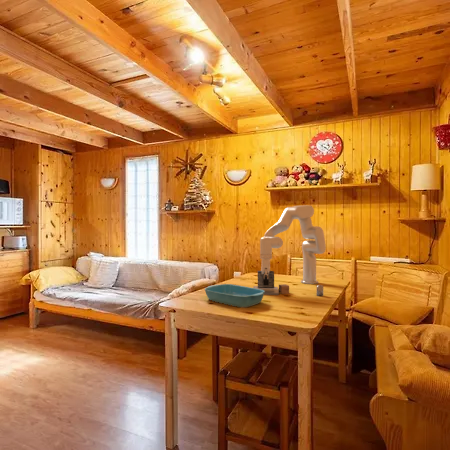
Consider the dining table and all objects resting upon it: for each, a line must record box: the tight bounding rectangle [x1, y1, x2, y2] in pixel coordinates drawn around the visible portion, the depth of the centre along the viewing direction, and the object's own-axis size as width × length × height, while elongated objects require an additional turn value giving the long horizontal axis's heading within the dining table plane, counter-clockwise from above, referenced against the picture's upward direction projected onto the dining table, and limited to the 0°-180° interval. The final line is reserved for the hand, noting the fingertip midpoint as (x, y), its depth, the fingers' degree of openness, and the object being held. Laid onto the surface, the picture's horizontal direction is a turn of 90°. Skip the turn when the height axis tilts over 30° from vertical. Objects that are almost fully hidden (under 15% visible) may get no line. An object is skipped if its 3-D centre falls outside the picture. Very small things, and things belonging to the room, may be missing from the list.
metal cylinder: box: [316, 284, 324, 297], centre depth 192 cm, size 4×4×6 cm
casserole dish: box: [204, 283, 265, 308], centre depth 177 cm, size 37×22×7 cm, turn 48°
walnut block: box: [278, 283, 290, 295], centre depth 198 cm, size 5×5×5 cm
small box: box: [257, 270, 275, 288], centre depth 202 cm, size 11×6×10 cm, turn 84°
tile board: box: [252, 285, 280, 296], centre depth 202 cm, size 18×16×2 cm
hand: (265, 283), depth 202 cm, fingers closed on small box, 6 cm apart
